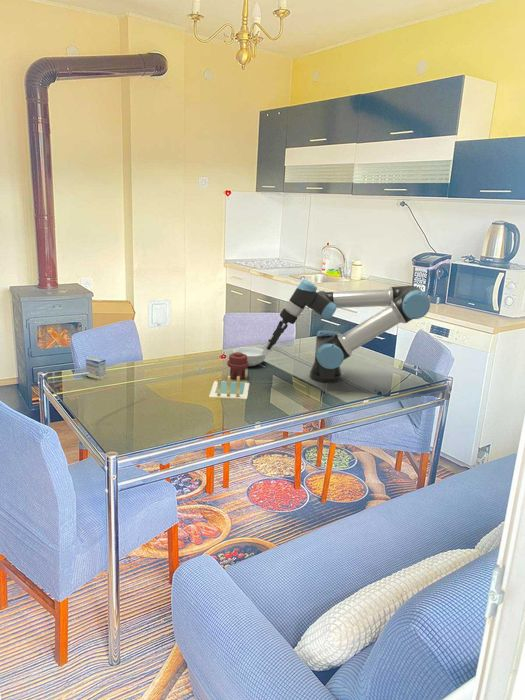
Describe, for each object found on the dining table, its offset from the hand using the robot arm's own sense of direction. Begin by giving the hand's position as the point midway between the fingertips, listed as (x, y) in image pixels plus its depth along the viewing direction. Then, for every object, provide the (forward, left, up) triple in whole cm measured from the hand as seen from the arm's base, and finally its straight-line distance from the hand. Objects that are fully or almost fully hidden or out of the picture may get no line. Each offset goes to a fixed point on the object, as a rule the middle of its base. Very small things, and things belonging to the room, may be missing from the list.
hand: (265, 351), depth 231 cm
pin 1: (+19, +19, -15) cm, 30 cm away
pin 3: (+11, +19, -15) cm, 26 cm away
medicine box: (+77, +3, -16) cm, 78 cm away
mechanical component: (+13, -5, -16) cm, 21 cm away
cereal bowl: (+9, -27, -16) cm, 33 cm away
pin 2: (+15, +19, -15) cm, 28 cm away
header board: (+15, +12, -16) cm, 24 cm away
